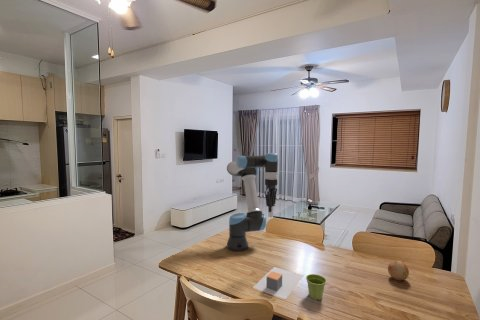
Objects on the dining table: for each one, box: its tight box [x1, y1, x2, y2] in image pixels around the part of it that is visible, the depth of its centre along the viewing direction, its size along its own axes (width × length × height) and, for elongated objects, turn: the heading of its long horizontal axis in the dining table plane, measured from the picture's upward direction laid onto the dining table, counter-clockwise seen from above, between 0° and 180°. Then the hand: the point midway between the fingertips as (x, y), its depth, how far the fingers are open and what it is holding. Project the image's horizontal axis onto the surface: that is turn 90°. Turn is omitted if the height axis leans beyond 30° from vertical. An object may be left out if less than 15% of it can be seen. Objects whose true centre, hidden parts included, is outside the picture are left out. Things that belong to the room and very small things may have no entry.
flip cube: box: [266, 270, 282, 291], centre depth 129 cm, size 6×6×6 cm
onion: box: [387, 259, 410, 281], centre depth 137 cm, size 10×10×10 cm
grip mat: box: [252, 266, 304, 300], centre depth 134 cm, size 18×26×1 cm
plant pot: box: [305, 273, 327, 301], centre depth 121 cm, size 9×9×9 cm
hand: (270, 216), depth 154 cm, fingers closed
